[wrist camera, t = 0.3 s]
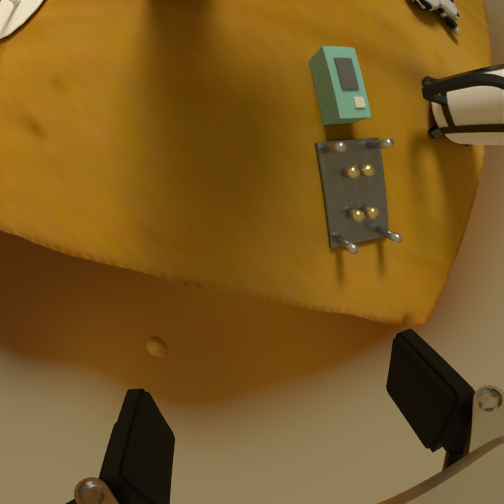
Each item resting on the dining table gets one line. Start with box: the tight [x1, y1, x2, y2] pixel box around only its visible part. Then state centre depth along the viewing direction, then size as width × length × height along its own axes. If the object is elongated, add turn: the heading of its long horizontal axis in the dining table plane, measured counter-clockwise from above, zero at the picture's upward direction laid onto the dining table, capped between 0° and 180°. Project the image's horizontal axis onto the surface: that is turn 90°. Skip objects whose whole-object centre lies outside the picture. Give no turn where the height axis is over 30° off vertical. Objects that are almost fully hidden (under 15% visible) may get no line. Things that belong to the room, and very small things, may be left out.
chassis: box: [315, 138, 402, 254], centre depth 35 cm, size 15×10×6 cm, turn 10°
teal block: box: [309, 46, 371, 125], centre depth 31 cm, size 10×4×6 cm, turn 11°
